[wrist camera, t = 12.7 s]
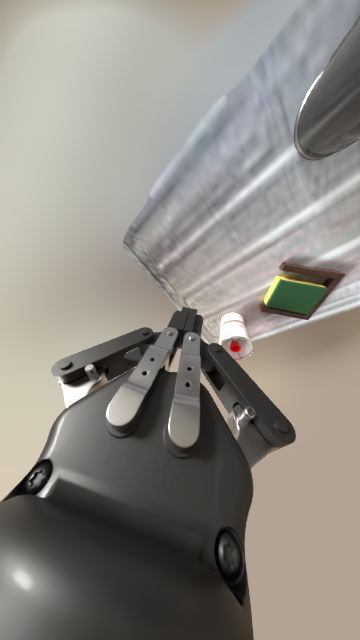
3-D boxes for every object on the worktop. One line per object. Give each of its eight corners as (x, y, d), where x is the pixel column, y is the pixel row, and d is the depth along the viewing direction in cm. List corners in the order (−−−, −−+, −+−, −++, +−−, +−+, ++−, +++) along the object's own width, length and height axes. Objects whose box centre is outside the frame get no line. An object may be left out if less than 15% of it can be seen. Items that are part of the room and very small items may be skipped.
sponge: (276, 275, 35) (281, 280, 32) (320, 283, 34) (328, 289, 31) (263, 300, 39) (266, 306, 36) (301, 307, 38) (307, 314, 35)
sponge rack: (281, 262, 33) (285, 265, 31) (339, 271, 32) (345, 274, 30) (259, 307, 41) (260, 311, 39) (304, 316, 39) (308, 320, 38)
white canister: (250, 330, 46) (258, 359, 36) (224, 335, 49) (225, 364, 40) (241, 305, 41) (248, 331, 32) (213, 313, 45) (212, 339, 36)
